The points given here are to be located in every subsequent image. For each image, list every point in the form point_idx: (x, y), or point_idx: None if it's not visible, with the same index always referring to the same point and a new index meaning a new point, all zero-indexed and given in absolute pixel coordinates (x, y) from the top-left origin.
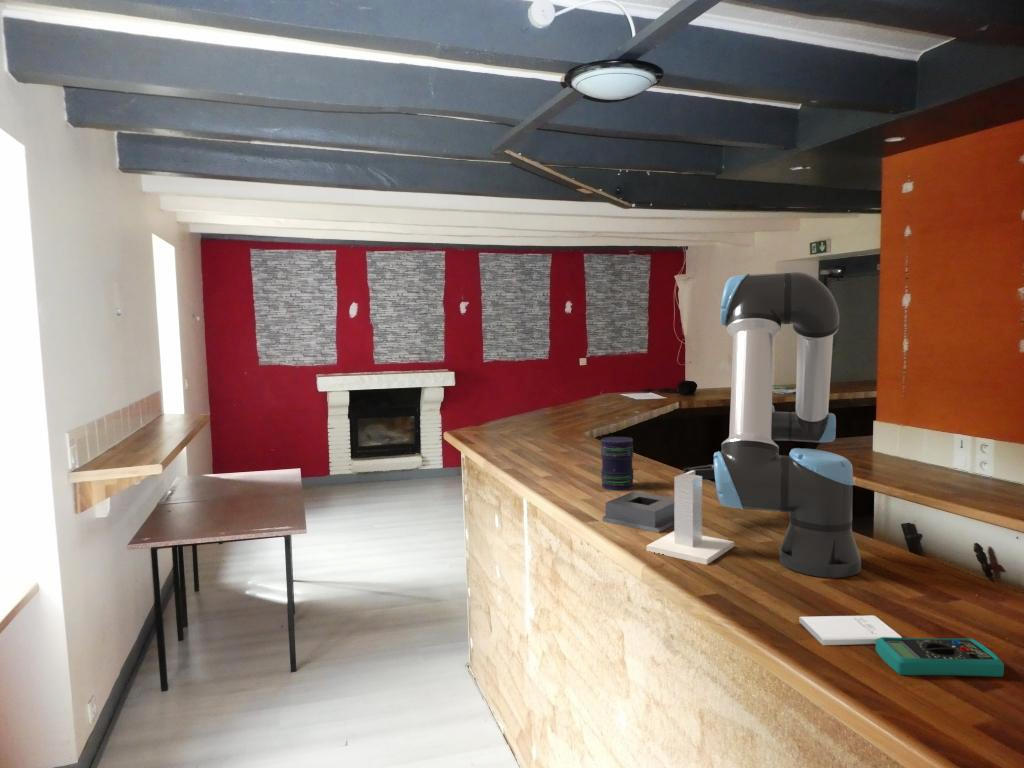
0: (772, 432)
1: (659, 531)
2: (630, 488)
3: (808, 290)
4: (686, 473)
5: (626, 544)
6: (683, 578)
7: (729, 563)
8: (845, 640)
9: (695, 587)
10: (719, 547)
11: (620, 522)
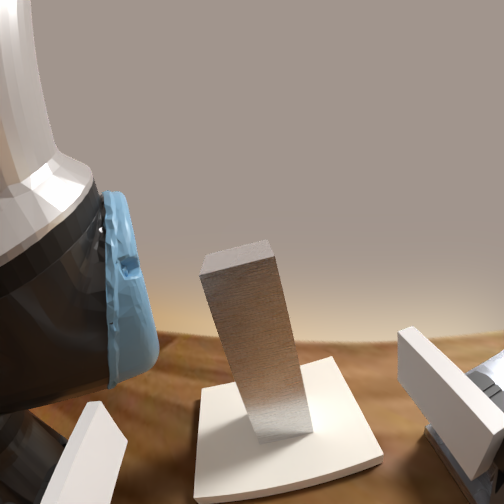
0: None
1: (426, 435)
2: None
3: None
4: (437, 359)
5: (386, 353)
6: (212, 350)
7: (173, 424)
8: None
9: (187, 345)
10: (206, 445)
11: None
